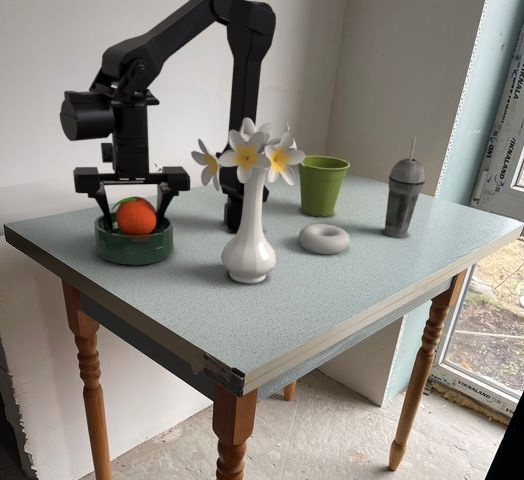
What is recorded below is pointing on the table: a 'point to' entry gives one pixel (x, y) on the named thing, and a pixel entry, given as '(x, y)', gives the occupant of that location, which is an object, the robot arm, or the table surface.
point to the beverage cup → (403, 194)
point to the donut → (324, 239)
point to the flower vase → (251, 192)
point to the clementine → (135, 216)
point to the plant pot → (321, 183)
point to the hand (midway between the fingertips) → (134, 228)
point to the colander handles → (140, 241)
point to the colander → (120, 246)
